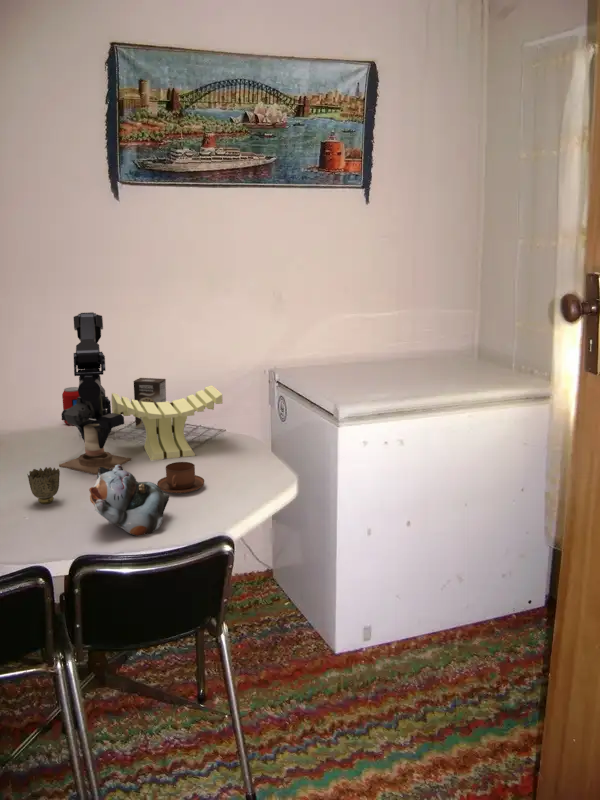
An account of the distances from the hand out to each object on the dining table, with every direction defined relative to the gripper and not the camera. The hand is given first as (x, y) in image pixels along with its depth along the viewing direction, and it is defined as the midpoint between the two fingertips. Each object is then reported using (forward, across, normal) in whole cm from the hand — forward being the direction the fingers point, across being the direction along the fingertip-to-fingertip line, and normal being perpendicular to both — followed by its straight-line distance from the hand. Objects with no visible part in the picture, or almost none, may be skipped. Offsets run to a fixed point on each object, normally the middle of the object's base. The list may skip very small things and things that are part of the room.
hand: (94, 446), depth 211 cm
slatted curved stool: (+5, +10, +20) cm, 23 cm away
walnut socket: (+5, 0, 0) cm, 5 cm away
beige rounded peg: (+2, 0, 0) cm, 2 cm away
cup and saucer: (+5, +34, -4) cm, 34 cm away
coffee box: (+5, -11, +37) cm, 39 cm away
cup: (+5, +11, -28) cm, 31 cm away
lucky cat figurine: (+5, +39, -28) cm, 48 cm away
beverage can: (+5, -37, +28) cm, 47 cm away
